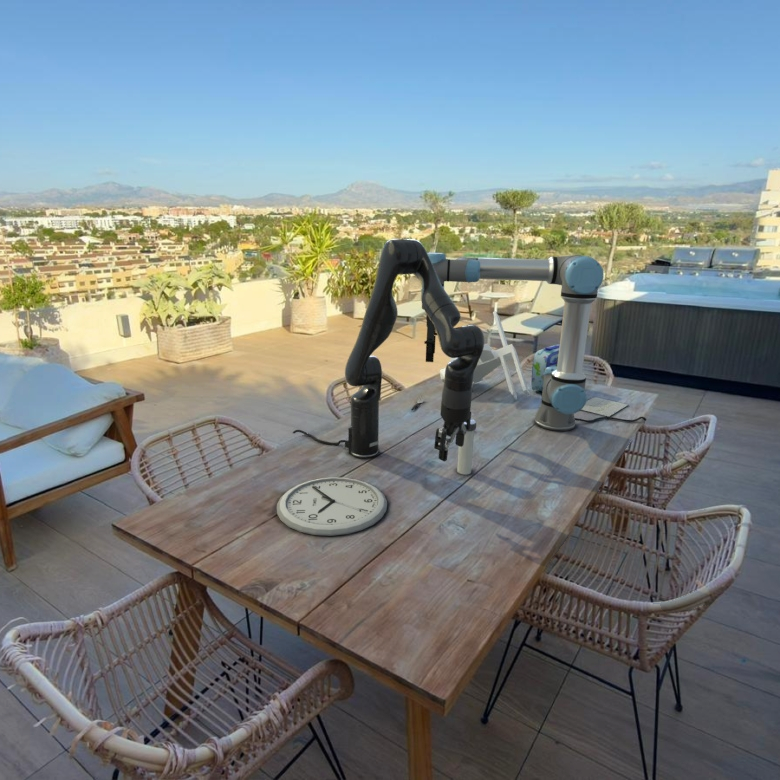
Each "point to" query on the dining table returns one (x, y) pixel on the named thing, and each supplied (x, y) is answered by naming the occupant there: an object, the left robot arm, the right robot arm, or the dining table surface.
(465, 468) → the off-white long cylinder
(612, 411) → the invitation card
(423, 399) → the fork
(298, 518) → the wall clock
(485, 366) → the white plastic object
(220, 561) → the dining table surface
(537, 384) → the lunch box
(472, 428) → the lid
